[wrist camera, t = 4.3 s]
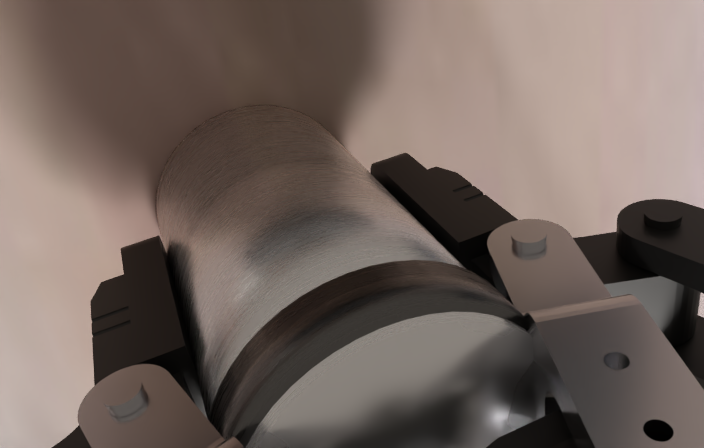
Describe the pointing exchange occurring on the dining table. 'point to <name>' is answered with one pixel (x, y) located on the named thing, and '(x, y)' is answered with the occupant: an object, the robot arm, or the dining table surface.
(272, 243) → the steel fitting
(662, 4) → the dining table surface
